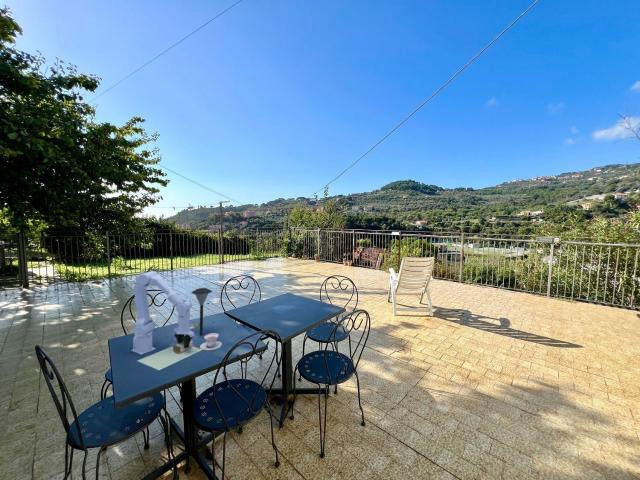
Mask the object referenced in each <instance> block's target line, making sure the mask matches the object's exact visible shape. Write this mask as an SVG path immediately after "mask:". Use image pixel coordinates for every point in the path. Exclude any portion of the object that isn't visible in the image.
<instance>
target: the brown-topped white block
mask: <svg viewBox="0 0 640 480" xmlns="http://www.w3.org/2000/svg"><path fill="white" fill-rule="evenodd" d="M193 341H194V340H191V341H190V344H189V347H188V348H186V349H185V348H184V341H183V342H181V343H179V344H178V343H177V344H174V345H172V346H173V351H174V352H177V353H180V352H182V351H184V350H187V349H189V348H191V347H194V342H193Z"/></svg>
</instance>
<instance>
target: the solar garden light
mask: <svg viewBox="0 0 640 480" xmlns="http://www.w3.org/2000/svg"><path fill="white" fill-rule="evenodd" d="M212 292H213V291H212V290H211V289H210V288H209V289H208V288H207V287H198V288H196V289H194V290H193V291H191V294H193V295H195V297H196V299H197V301H198V303H199V307H200V308H199V323H200V326H199V336H200V337H202V336H203V334H204V333H203V331H204V329H203V327H204V304H205V302H206V300H207V297H208V295H209V294H210V293H212Z"/></svg>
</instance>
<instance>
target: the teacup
mask: <svg viewBox="0 0 640 480" xmlns="http://www.w3.org/2000/svg"><path fill="white" fill-rule="evenodd" d="M218 338H219V333H215V332H214V333H213V332H211V333H208V334H206V335H204V336H203V339H204V340H205V342H203V343H201V344H200V346H199V349H202V350H201V351H213V350H217V349H220V348H221V347H222V346H223V345H222V343H223V342H221V341H217V339H218Z"/></svg>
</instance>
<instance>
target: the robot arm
mask: <svg viewBox="0 0 640 480" xmlns="http://www.w3.org/2000/svg"><path fill="white" fill-rule="evenodd" d="M149 286H152V287H156V288H157V289H159V290H160V291H161V292H163V293H164V294H165V295H166V296H167V300H168V301H169V302H170V303H171V304H172V305H173V306H174V307H176V308H175V311H176V312H177V315H178V316H177V317H178V318H177V320H178V322H177V327H175V328H173V332H174V333H175V334H174V335H173V336H174V337H175V339H176V341H177V344H179V343H181V342H184V348H185V349H186V348H188V347H189V344H190V341H192V338H193V337H195V332H194V331H192V330H190V324H191V323H190V322H191V318H190V317H191V308H192V307H193V306H192V305H193V304H192V302H191V300H189V299H186V298H184V297H183V296H182V295H181V293H180V292H179V291H176V290H172V288H171V287H170V286H169V285H168V283H166V281H164V280H163V278H162V276H161V275H160V274H159V273H158V272H157V271H156V270H150V271H148V272H144V273H140V274H138V276H136V277H135V284H134V285H133V293H134V301H135V307H136V314H137V319H136V321H135V323H134V329H133V334H134V336H133V339H132V349H131V350H130V351H131V352H133V353H136V354H139V355H143V354H144V355H145V354H146V353H149V352H152V351H154V350H156V349H157V348H155V347H153V333H154V332H153V330H155V327H156V323H155V322H154V319H153V317H152V316H150V310H149V302H148V301H149V300H148V295H147V289H148V287H149Z"/></svg>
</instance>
